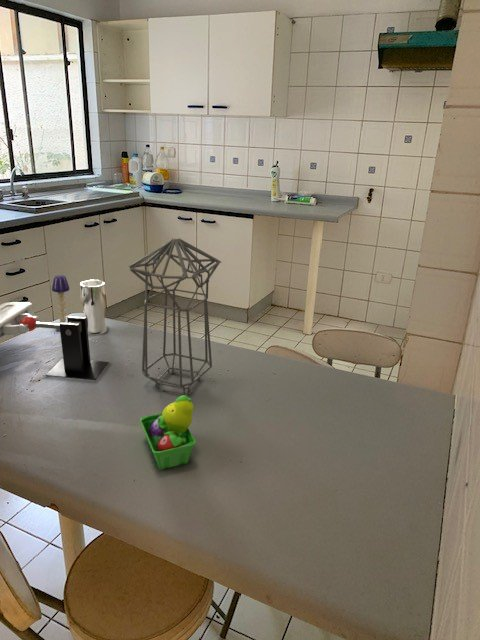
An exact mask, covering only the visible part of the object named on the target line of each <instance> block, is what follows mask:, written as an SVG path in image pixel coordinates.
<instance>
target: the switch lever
mask: <svg viewBox="0 0 480 640" xmlns="http://www.w3.org/2000/svg"><path fill="white" fill-rule="evenodd" d="M67 323H75V324H80V332H81V331H82V325H81V322H78V321H69V322H68V321H67ZM20 324H28V325H29V331H28V332H32V331H34V330H35V329H37V328H42V329H50V330H51V329H54V330H56V329H60V325H59V324H60V323H55V322H46V321H45V322H44V321H40V322H37V321H36V319H35V318H33V317H31V316H26V317H24V318H23V319H22V320H21V322H20Z"/></svg>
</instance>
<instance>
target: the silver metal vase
mask: <svg viewBox="0 0 480 640" xmlns="http://www.w3.org/2000/svg"><path fill="white" fill-rule="evenodd" d="M79 287H80V289H79V294H80V295H79V296H80V304H81V308H82V311H83V315H84V317H87V327H88V335H93V336H100V335H103V334H106V332H107V331H108V328H107V325H106V312H107V311H106V309H107V292H106V285H105V282H104V281H103V280H100V279H87V280H84V281H81V282H80V283H79Z"/></svg>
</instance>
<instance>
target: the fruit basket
mask: <svg viewBox="0 0 480 640" xmlns="http://www.w3.org/2000/svg"><path fill="white" fill-rule="evenodd" d="M185 395H186V394H185ZM185 395H184V394H181V395H179V396H178V397H177V398H176V399H175V400H174V401H173V402H171V403H169V404H168V405H166V406H165V407H164V409H163V411H162V413H157V414H152V415H147V416H143V417H141V418H140V419H139V421H140V424H141V427H142V429H143V431H144V434H145V437H146V441H147V443H148V445H149V447H150V450H151V452H152V454H153V457H154V459H155V462H156V464H157V467H158V469H159V470H164V469H166V468H172V467H176V466H180V465H183V464H188V463H189V460H190V458H191V457H190V456H191V454H192V451H193V448H194V446H195V444H196V439H195V438H194V436H193V435H192V433H191V431H190V429H189V428H190V426H191V424H192V421H193V413H194V409H195V406H194V404H193V402H192V399H191V398H190V397H188V395H186V396H185Z"/></svg>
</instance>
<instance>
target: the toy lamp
mask: <svg viewBox="0 0 480 640" xmlns="http://www.w3.org/2000/svg"><path fill="white" fill-rule="evenodd" d="M51 291H52V292H54V293H57V300H58V302H57V303H58V315H59V324H60V323H61V322H62V323H67V316H66V314H67V312H66V306H65V305H66V301H65V299H66V298H65V293H66V292H69V291H70V286H69V283H68V279H67V277H66V275H63V274H57V275H55V276H53V281H52V286H51ZM55 332H57V333H60V329H55Z"/></svg>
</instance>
